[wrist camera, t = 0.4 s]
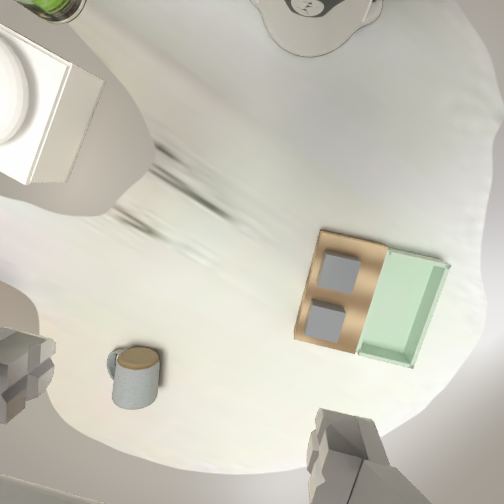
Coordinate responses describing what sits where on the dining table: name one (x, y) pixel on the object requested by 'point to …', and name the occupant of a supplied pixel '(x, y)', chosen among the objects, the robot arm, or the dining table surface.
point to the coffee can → (54, 9)
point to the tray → (402, 307)
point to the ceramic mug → (134, 377)
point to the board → (352, 303)
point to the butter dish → (42, 110)
